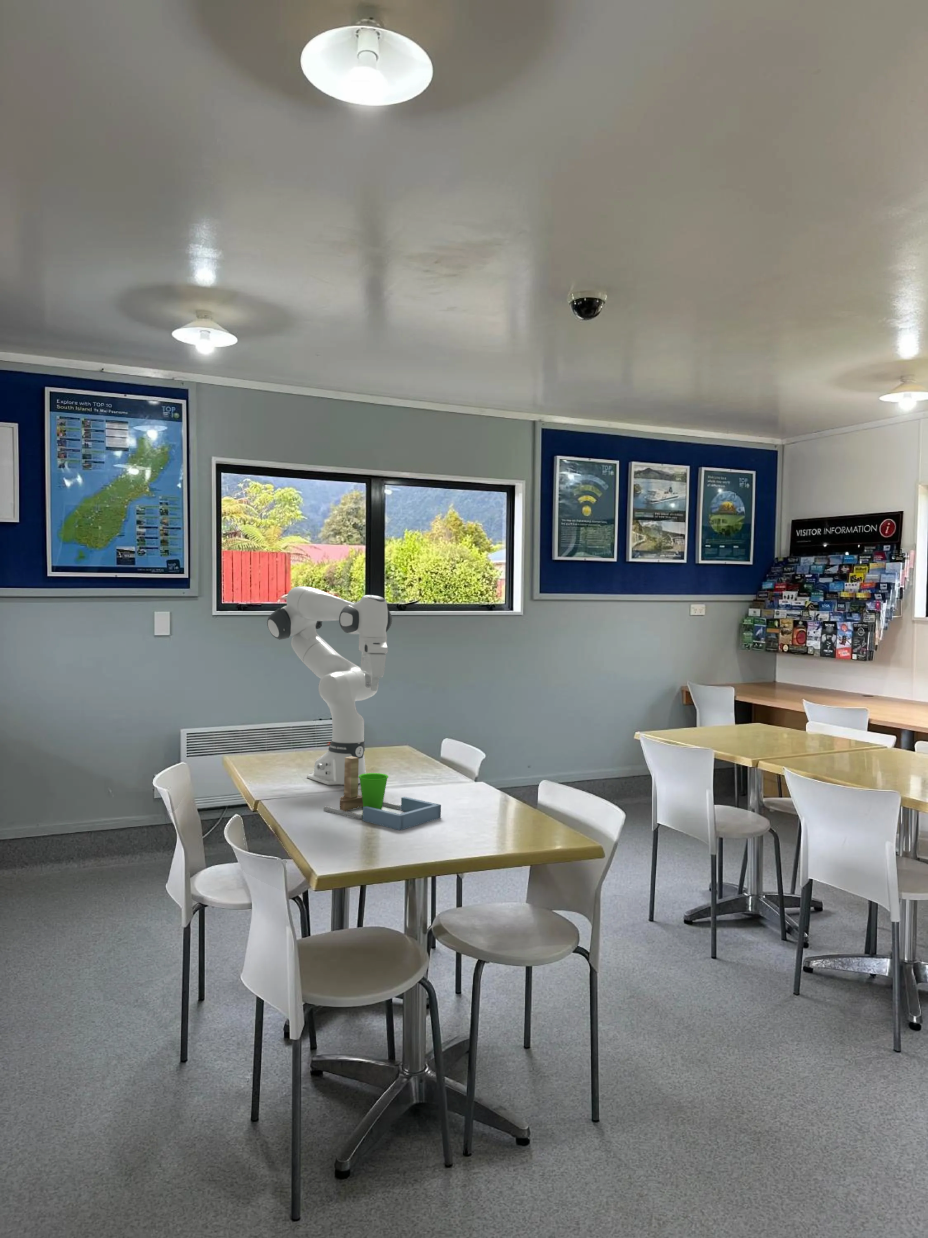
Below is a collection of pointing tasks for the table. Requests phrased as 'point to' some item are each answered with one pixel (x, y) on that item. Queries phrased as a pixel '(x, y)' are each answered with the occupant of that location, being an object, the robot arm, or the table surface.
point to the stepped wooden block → (351, 785)
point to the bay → (404, 814)
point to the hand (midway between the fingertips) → (371, 689)
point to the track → (355, 815)
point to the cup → (373, 789)
